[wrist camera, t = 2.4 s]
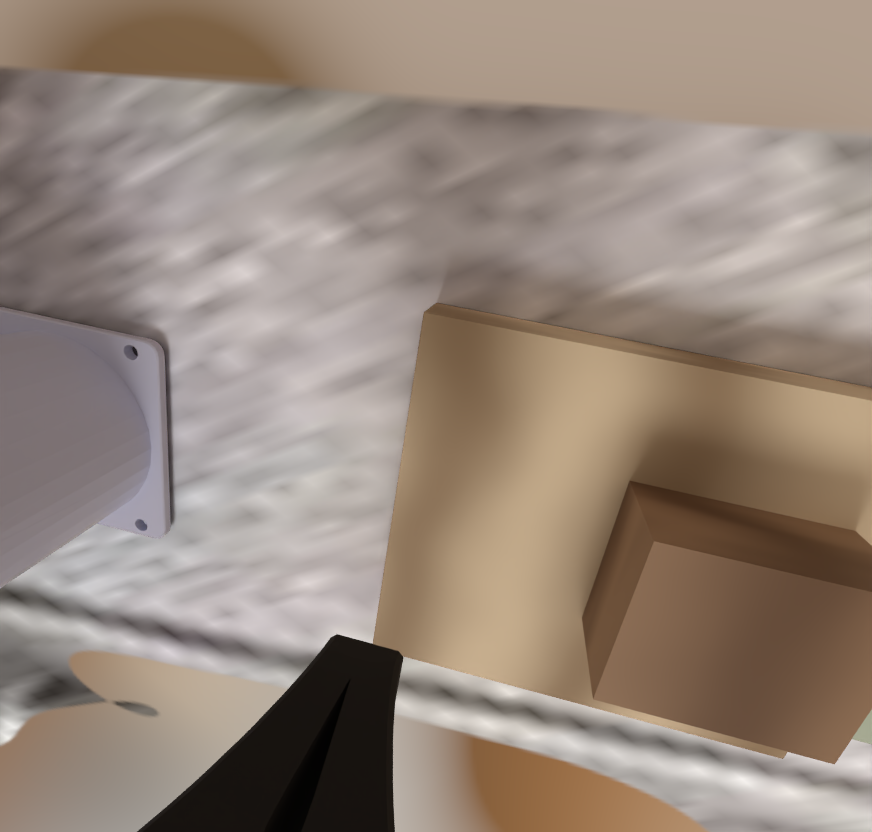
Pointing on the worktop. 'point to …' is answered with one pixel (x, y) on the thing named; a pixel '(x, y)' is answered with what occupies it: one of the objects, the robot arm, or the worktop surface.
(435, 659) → the birch board
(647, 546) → the walnut block
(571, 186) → the worktop surface
